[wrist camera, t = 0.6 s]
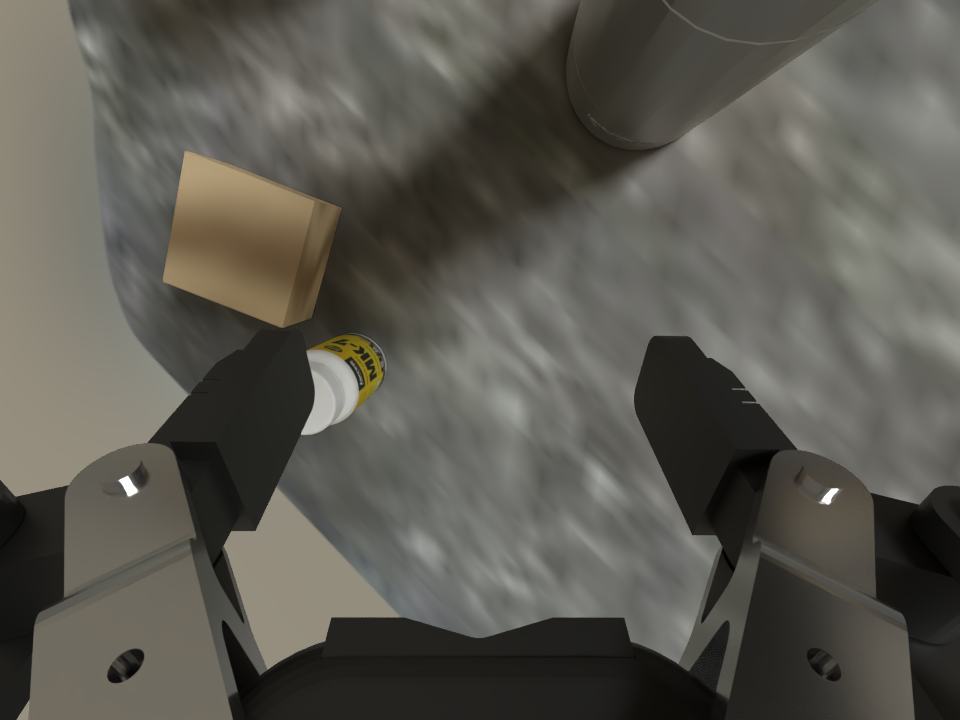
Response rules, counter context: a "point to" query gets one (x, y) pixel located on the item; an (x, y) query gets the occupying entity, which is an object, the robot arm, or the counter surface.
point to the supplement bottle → (343, 378)
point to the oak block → (248, 241)
